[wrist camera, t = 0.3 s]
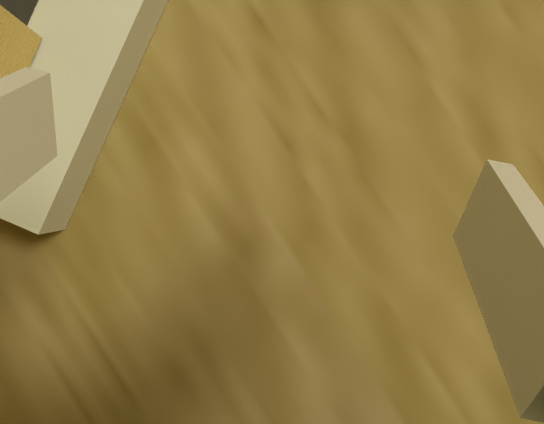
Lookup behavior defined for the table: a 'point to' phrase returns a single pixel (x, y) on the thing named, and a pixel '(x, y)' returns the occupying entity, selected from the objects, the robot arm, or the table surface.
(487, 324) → the robot arm
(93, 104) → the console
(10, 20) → the brass slider
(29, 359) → the table surface
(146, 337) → the table surface
